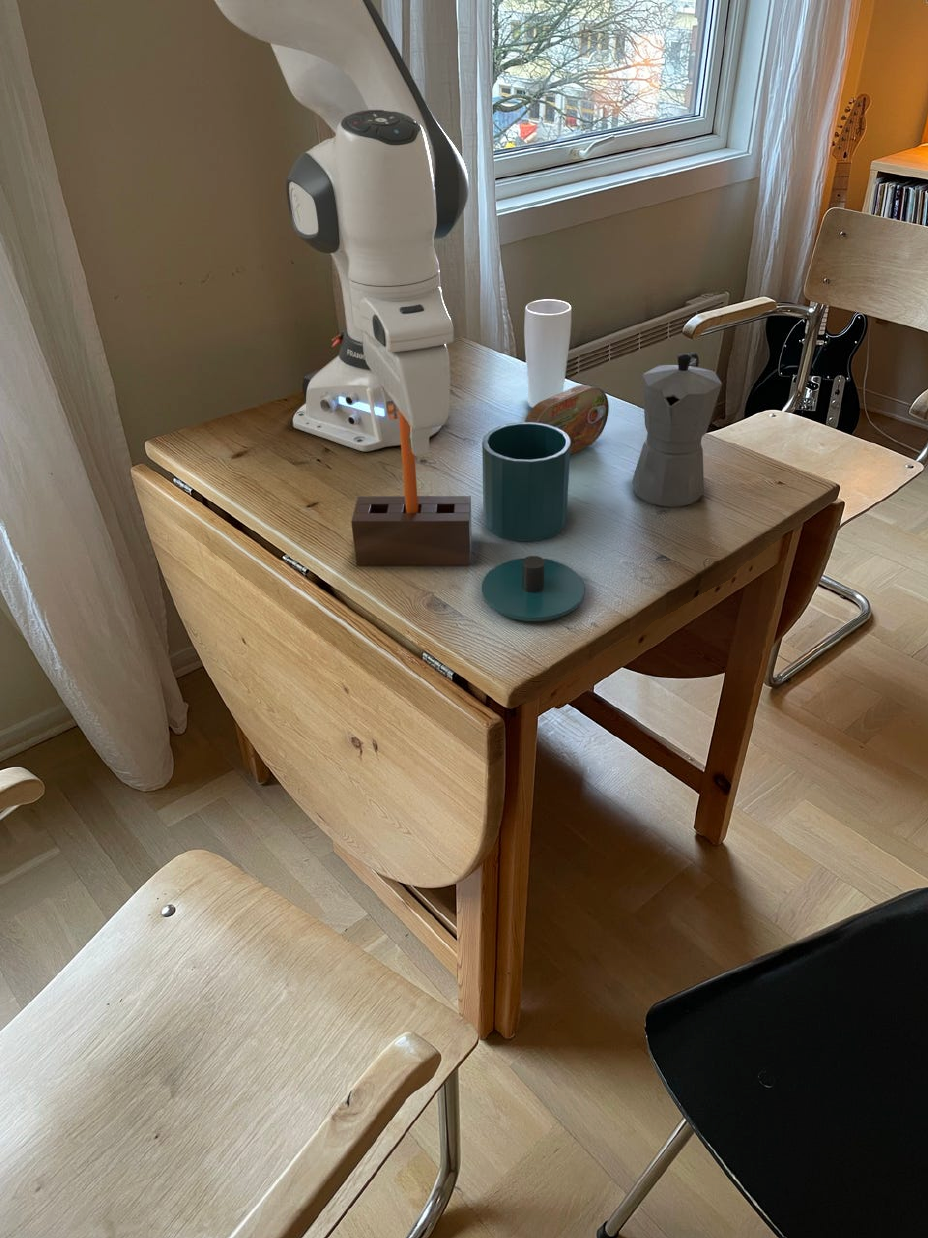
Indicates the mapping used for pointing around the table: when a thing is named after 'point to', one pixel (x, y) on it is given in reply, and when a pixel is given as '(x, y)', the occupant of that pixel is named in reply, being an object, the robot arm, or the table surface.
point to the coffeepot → (675, 432)
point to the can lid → (533, 589)
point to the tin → (574, 414)
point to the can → (525, 480)
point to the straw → (408, 467)
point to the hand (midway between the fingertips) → (407, 433)
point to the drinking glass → (546, 348)
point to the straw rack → (412, 531)
